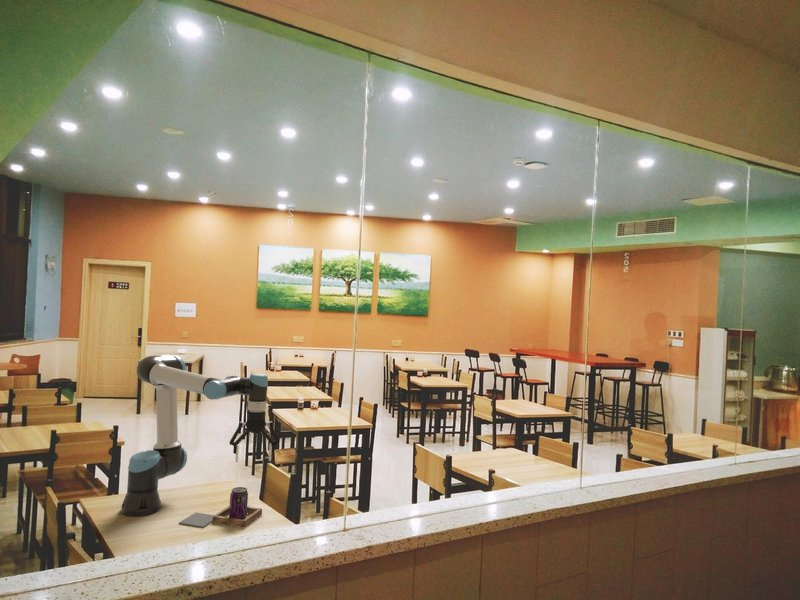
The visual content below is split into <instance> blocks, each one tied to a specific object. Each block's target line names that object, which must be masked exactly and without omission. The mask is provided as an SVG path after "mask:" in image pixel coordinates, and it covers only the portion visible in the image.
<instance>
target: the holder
mask: <svg viewBox="0 0 800 600" xmlns="http://www.w3.org/2000/svg"><path fill="white" fill-rule="evenodd" d="M229 509H230V505H228V506H227V507H225V508H223V509H222V510H220V511H218V512H217V513H215V514H213V515H214V516H213V521H212V523H211V524H220V525H224V526H225V525H226V526H231V525H232V527H237V526H240V527H239V528H243V527H245V528H246V527H247V526H249V525H250V524H252V521H253V522H254V521H255V520H257V519H258V518H260V517H261V516H263V515H262V514H263V508H261V507H256V506H255V507H254V506H248V505H247V513H248V514H249V515H248V514H247V517H246V518H244V519H243V520H241V519H235V518H229ZM256 518H257V519H256ZM248 524H249V525H248Z"/></svg>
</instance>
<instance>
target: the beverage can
mask: <svg viewBox="0 0 800 600" xmlns="http://www.w3.org/2000/svg"><path fill="white" fill-rule="evenodd" d="M248 499H249V491H248V488H247V487H244V486H237V487H233V488H232V489H231V493H230V495H229V506H230V509H229V514H228V517H229V518H235V519H241V520H244V519H245V518H247V517H248V514H247V506H248V502H249V501H248Z"/></svg>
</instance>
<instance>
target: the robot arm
mask: <svg viewBox="0 0 800 600" xmlns="http://www.w3.org/2000/svg"><path fill="white" fill-rule="evenodd" d="M186 369H187V367H186V363H185V361H184V360H183V358H181V356H180V355H177V354H161V355H149V356H146V357H144V358H143V359H141V360H140V361H139V363H138V364H137V366H136V375H137V377H138V378H139V380H140V381H141V382H143V383H146V384H151V385H152V387H153V388H155V390H156V443H155V444H154V446H153V449H151V450H144V451H143V450H142V451H140V452H137V453H135V454H133V455H132V456H131V457H130V459H129V461H128V462H129V464H128V466H127V467H128V468H127V471H128V474H127V486H126V487H127V488H126V489H127V490H126V494H125V497H124V499H123V502H122V504H121V506H120V507H121V508H120V512H121V514H122V515H125V516H129V517H140V516H141V517H142V516H143V517H144V516H146V515H147V516H148V515H151V514H154V513H156V512H158V511H160V510H161V508H162V501H161V499H160V494H159V490H158V487H159V480H161V479H164V478H166V477H169V476H172V475H175V474H177V473H179V472H180V471H182V470H183V469H184V467H186V464H187V461H188V454H187V451H186V450H185V448H184V447H183V446H182V443H181V442H180V441H179V440H178V439H179V435H178V434H179V433H178V427H179V426H178V389H180V390H184V391H187V392H192V393H196V394H200V395H204V396H205V397H206V398H207V399H209V400H220V399H223V398H227V397H232V396H237V395H238V396H239V395H242V396H247V397H248V400H247V411H246V413H247V415H246V417H247V418H246V422H242V421H239V422H238V426H237V428H236V430H235V432H234V433H233V435H232V437H231V438H230V440H229V445H230V446H232V447H233V451H232V453H233V455H234V454H235V463H238V461H239V460H238V459H239V449H240V448H239V447H240V446H239V444H240V443H241V442H242V440H244V439H245V437H246V436H247V435H249V433H251V434H254V433H255V434H260V433H262V435H263V436H264V437H265V438H266V439H267V441H268V442H269V446H268V449H269V450H268V461H269V462H272V453H273V454H274V452H275V447H276V446H275V445H278V444H280V440H279V438H278V436H277V434H276V431H275V430H274V426H273V421H271V420H270V421H267V422H266V414H267V413H266V410H267V399H268V398H267V396H268V395H267V394H268V386H269V384H268V383H269V382H268V379H269V378H268V375H267V374H265V373H252V374H250V375H249V377H243V376H237V375H228V376H227V377H225V378H215V377H212V376H208V375H205V374H200V373H195V372H190V371H187V370H186ZM244 427H246V429H245V431H244V432H243V433H241V435H240V436H238V435H239V434H240V432H241V430H242V428H244ZM265 427H268V428H269V429H270V431H271V434H272V436H273V438H272V437H271V436H270V435H269V434H268V432H267V431H266V430H265ZM237 437H238V438H237ZM273 439H274V440H273Z"/></svg>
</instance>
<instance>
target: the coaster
mask: <svg viewBox="0 0 800 600" xmlns="http://www.w3.org/2000/svg"><path fill="white" fill-rule="evenodd" d="M214 515H215V514H207V513H202V512H194V513H193V514H190V515H189V516H187V517H186V518H184V519H182V520H181V521H179V522H178V524H179V525H183V526H187V527H196V528H199V529H200V528H201V529H204V528H206V527H207V526H209V525H210V524H213V523H212V521H213V516H214Z"/></svg>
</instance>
